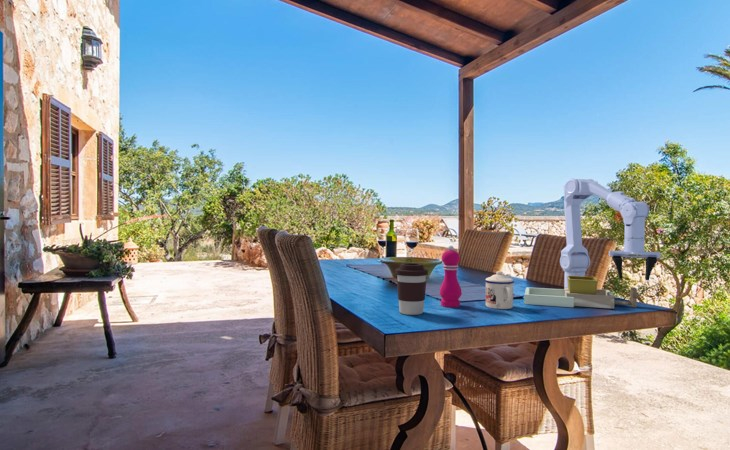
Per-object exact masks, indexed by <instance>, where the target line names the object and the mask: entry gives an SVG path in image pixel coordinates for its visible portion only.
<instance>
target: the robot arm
mask: <svg viewBox="0 0 730 450" xmlns="http://www.w3.org/2000/svg"><path fill="white" fill-rule="evenodd" d="M563 194H564V198H563V205H564V223H565V241H566V246H565V247H563V249H562V250H560V258H559V265H560V267H561V269H562V270H563V272H564V281H563V282H564V287H563V289H565V287H567V288H568V280H567V276H585V277H586V272H587V271H588V270H587V269H589V268H590V265H591V258H590V256H589V251H588V249H587V248H586V247H584V245H583V238H582V236H583V235H582V234H583V233H582V221H581V220H582V219H581V206H580V205H581V204H582V203H583V202H584V201H586V200H587V199H589V198H590V197H591V196H596V197H598V198H600V199H602V200H604V201H606V205H607V206H608V207H609V208H612V209H613V210H615V211H617V212H619V213H620V216H621V217H622V219H623V225H624V237H623V238H624V239H623V240H624V242H623V244H624V245H623V249H624V250H608V256H609V258H610V257H611V259H612V261H613V263H614V265H615V267H616V271H617V273H618V279H619V280H623V258H643V259H644V261H645V272H644V276H645V277H644V279H645V281H650V276H651V274H652V272H653V269H654V267H655V265H656V263H657V262H658V259H661V252H660V251H645V239H646V237H645V234H646V233H645V231H646V230H645V229H646V228H645V227H646V218H647V217H648V216H649V214H650V207H649V205H648V203H646V202H645V201H636V199H635V198H634V197H629V196H628V195H626V194H625V192H624V191H622V190H621V191H611V190H609V189H608V188H606V187H605V186H603V185H601V184H600V183H599V182H598V181H596V180H594V179H592V178H587V179H585V178H584V179H583V178H582V179H581V178H569V179H568V180H567V181H566V183H564V185H563Z"/></svg>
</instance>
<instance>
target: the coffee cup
mask: <svg viewBox="0 0 730 450" xmlns="http://www.w3.org/2000/svg"><path fill="white" fill-rule="evenodd" d="M394 271H395V273H394V274H395V275H396V276H397V281H396V286H397V287H396V288H397V289H396V290H397V300H398V308H399V309H398V310H399V313H400V314H401V315H402V314H403V315H405V316H406V315H408V316H417V315H422V314H423V313H424V308H425V307H424V306H425V300H426V290H427V289H426V288H427V279H426V277H427V276H428V275H429V269H427V268H425V267H424V264H422V263H418V262H416V263H413V262H407V263H405V262H404V263H401V264H400V265H399V268H396V269H395V270H394Z"/></svg>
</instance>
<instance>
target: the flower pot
mask: <svg viewBox="0 0 730 450" xmlns="http://www.w3.org/2000/svg"><path fill="white" fill-rule="evenodd" d="M567 280H568V290H569V292H570V293H576V294H593V295H596V290H597V289H598V279H597V278H596V277H595V276H586V275H585V276H567Z"/></svg>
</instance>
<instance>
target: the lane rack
mask: <svg viewBox="0 0 730 450" xmlns="http://www.w3.org/2000/svg"><path fill="white" fill-rule="evenodd" d="M523 299H524V304H523V305H532V306H533V305H535V306H549V307H561V308H562V307H564V308H574V307H575V306H574V297H565V289H564V288H547V287H546V288H545V287H531V286H530V287H527V286H526V287H525V291H524V298H523Z"/></svg>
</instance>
